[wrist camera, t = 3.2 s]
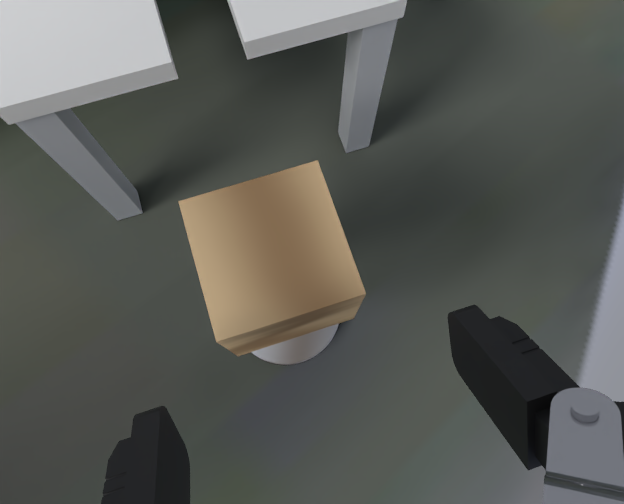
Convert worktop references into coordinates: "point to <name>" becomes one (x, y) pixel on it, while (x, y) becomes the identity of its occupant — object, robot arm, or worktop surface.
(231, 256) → the tan block with stem
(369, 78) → the white slotted table
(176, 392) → the worktop surface
